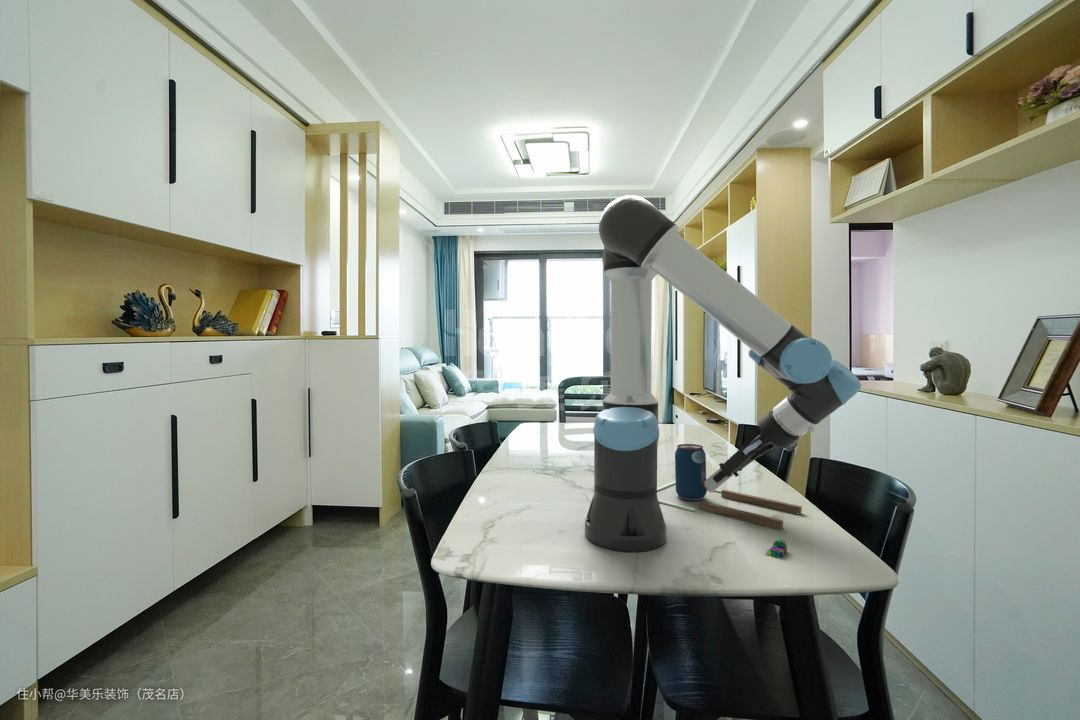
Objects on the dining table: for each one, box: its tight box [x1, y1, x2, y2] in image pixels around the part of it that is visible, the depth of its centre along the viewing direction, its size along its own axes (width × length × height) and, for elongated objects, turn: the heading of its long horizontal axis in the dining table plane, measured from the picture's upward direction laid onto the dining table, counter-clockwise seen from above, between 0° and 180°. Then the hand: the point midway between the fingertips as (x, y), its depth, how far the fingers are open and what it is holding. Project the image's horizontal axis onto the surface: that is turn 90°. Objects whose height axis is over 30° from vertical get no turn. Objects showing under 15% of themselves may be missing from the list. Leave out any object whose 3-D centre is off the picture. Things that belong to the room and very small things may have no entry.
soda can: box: [674, 443, 708, 501], centre depth 113 cm, size 7×7×12 cm
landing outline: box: [657, 480, 723, 512], centre depth 114 cm, size 18×14×1 cm
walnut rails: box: [697, 488, 803, 530], centre depth 103 cm, size 13×17×2 cm
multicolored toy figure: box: [764, 538, 788, 559], centre depth 82 cm, size 4×3×2 cm, turn 141°
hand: (707, 487), depth 110 cm, fingers closed
